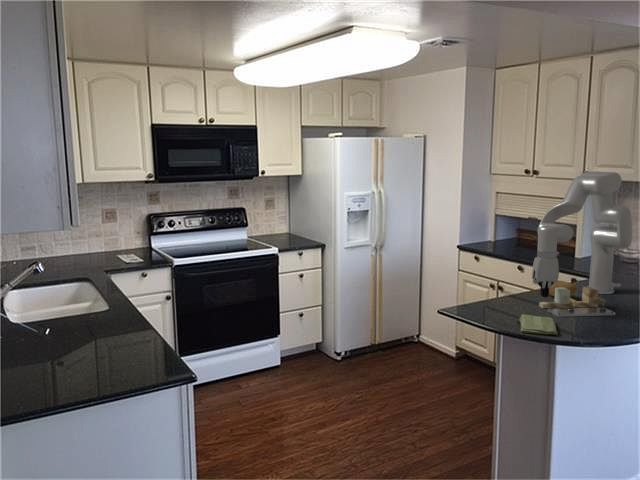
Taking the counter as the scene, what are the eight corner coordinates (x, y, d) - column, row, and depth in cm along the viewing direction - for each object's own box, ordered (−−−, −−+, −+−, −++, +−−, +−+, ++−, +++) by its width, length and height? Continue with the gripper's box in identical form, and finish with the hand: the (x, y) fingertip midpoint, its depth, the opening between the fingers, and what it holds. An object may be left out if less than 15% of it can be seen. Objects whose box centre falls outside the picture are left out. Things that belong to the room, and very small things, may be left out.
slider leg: (563, 300, 232) (564, 287, 231) (579, 308, 220) (580, 294, 219) (554, 301, 232) (555, 287, 231) (570, 309, 219) (571, 295, 219)
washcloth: (519, 334, 197) (520, 326, 196) (519, 320, 213) (519, 312, 213) (558, 338, 192) (559, 329, 192) (554, 323, 209) (555, 315, 208)
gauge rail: (592, 304, 234) (593, 286, 232) (610, 312, 221) (611, 294, 220) (537, 306, 231) (539, 288, 230) (552, 314, 219) (554, 295, 218)
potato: (572, 302, 237) (574, 285, 236) (540, 297, 246) (541, 280, 245) (579, 298, 244) (580, 281, 243) (547, 293, 253) (548, 276, 252)
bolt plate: (603, 309, 226) (603, 305, 225) (615, 315, 218) (615, 310, 218) (547, 311, 224) (547, 306, 223) (557, 317, 216) (557, 312, 215)
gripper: (558, 252, 230) (556, 293, 233) (525, 253, 229) (523, 295, 232) (568, 255, 223) (565, 298, 226) (534, 257, 221) (531, 299, 224)
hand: (544, 296), depth 229 cm, fingers closed
